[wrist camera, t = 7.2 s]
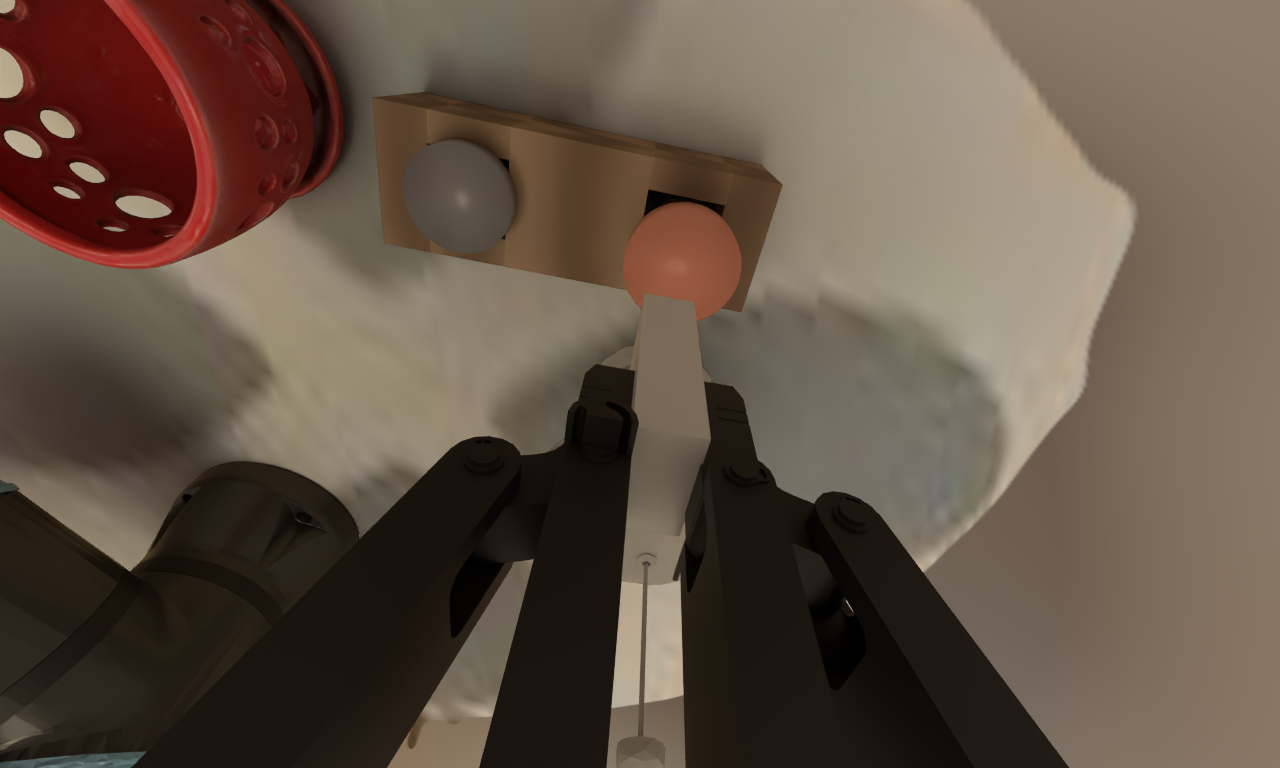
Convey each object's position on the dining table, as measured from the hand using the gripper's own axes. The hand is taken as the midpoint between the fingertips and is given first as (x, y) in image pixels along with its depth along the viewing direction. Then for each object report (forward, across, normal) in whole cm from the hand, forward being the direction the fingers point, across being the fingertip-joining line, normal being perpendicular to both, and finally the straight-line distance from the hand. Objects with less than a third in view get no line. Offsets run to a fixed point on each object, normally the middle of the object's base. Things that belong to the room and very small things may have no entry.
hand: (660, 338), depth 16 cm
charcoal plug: (+18, +10, 0) cm, 21 cm away
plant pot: (+19, +25, -1) cm, 31 cm away
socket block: (+19, +5, 0) cm, 19 cm away
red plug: (+15, -1, 0) cm, 15 cm away
